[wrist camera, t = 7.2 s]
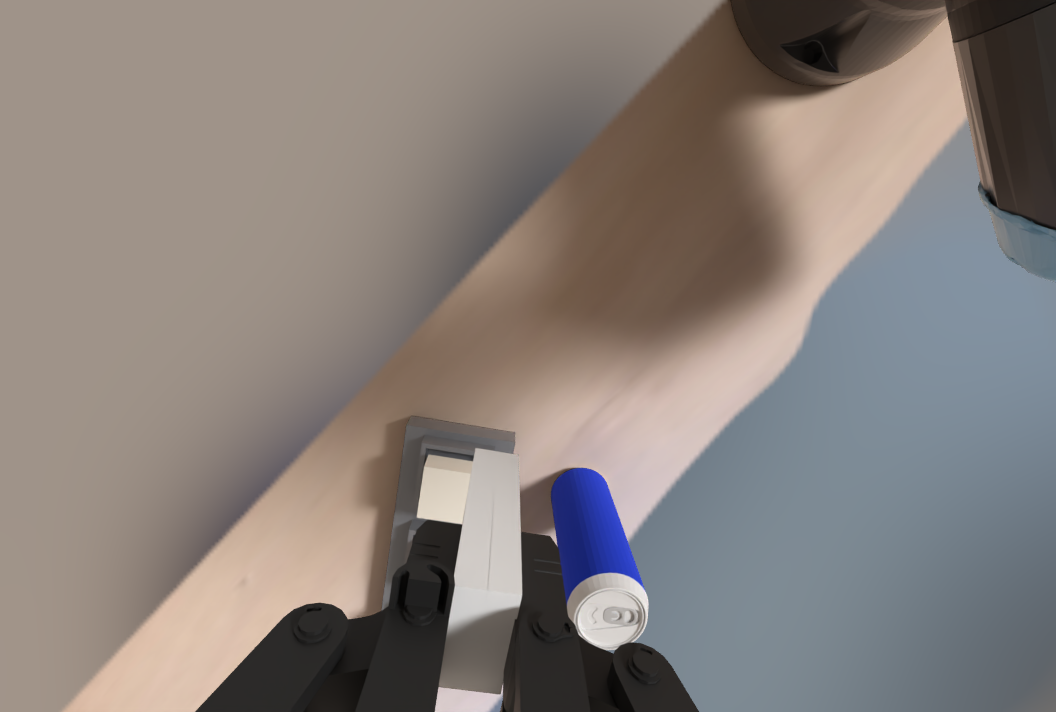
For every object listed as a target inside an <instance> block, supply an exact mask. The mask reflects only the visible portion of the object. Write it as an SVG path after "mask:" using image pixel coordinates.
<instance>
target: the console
mask: <svg viewBox="0 0 1056 712" xmlns="http://www.w3.org/2000/svg"><path fill="white" fill-rule="evenodd" d="M514 446H515V432H508V431H502V430H496V429H490V428H484V427H478V426H471V425H465V424H459V423H453V422H447V421H441V420H434V419H428V418H422V417H416V416H411V417H410V419H409V421H408V423H407V425H406V432H405V439H404V446H403V454H402V461H401V469H400V476H399V484H398V491H397V498H396V506H395V513H394V521H393V528H392V535H391V543H390V550H389V558H388V565H387V573H386V580H385V587H384V595H383V602H382V610H384V609H385V608H386V607H388V606H389V599H390V592H391V585H392V577H393V575H394V574H395V572H396V571H397V569H398V568H399V567H401V566H403V565H404V564H406V562H407V559H408V556H409V553H410V549H411V546H412V543H413V540H414V537H415V533H416V530H417V529H418V528H419V527H420V526H421V525H422V524H423V523H424V522H425V521H426V520H430V519H423V518H417V511H418V505H419V498H420V491H421V484H422V478H423V471H424V466H425V463H426V460H427V457H428V455H435V456H442V457H448V458H455V459H461V460H467V461H473V459H474V453H475V448H479V449H485V450H491V451H498V452H504V453H510V454H513V451H514ZM434 521H437V520H434ZM441 522H444V521H441ZM448 523H451V522H448ZM455 524H457V523H455ZM461 525H462V524H461ZM382 610H381V611H382Z"/></svg>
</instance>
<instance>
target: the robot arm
mask: <svg viewBox="0 0 1056 712" xmlns="http://www.w3.org/2000/svg"><path fill="white" fill-rule="evenodd" d="M731 3H732V8H733V12H734V16H735V19H736V22H737V25H738V27H739V29H740V32H741V34H742V36H743V38H744V39H745V41H746V43H747V44H748V46H749V47H750V49H751V50H752V52H753V53H754V54H755V55H756V56H757V57H758V59H759V60H760V61H761V62H762V63H763V64H765V65H766V66H767V67H768V68H769V69H771V70H772V71H774V72H775V73H777V74H779V75H780V76H782V77H784V78H786V79H789V80H791V81H794V82H797V83H801V84H806V85H814V86H829V85H837V84H842V83H846V82H850V81H853V80H855V79H858V78H860V77H863V76H865V75H868V74H870V73H872V72H875V71H877V70H879V69H882V68H884V67H886V66H888V65H890V64H891V63H893V62H895V61H896V60H898V59H899V58H901V57H902V56H904V55H905V54H907V53H908V52H909V51H911V50H912V49H913V48H914V47H916V46H917V45H918V44H919V43H920V42H921V41H922V40H923V39H924V38H925V37H926V36H927V35H928V34H929V33H931V32H932V31H933V30H934V29H935V28H936V27H937V26H938V25H939V24H940V23H941V22H942V21H943V20H944V19H945V18H946V17H947V16H948V20H949V25H950V29H951V34H952V39H953V46H954V51H955V56H956V61H957V66H958V71H959V76H960V81H961V86H962V91H963V96H964V101H965V106H966V111H967V116H968V121H969V126H970V131H971V136H972V141H973V146H974V151H975V156H976V161H977V166H978V171H979V176H980V183H979V186H978V192H979V196H980V199H981V201H982V202H983V204H984V205H985V206H986V207H987V208H988V209H989V212H990V216H991V219H992V223H993V226H994V230H995V233H996V237H997V241H998V244H999V246H1000V248H1001V250H1002V251H1003V253H1004V254H1005V255H1006V256H1007V258H1008V259H1009V260H1010V261H1012V262H1014V263H1016V264H1017V265H1020V266H1021V267H1022V268H1024V269H1025V270H1027V271H1028V272H1029V273H1031V274H1033V275H1035V276H1038V277H1040V278H1044V279H1046V280H1050V281H1053V282H1056V0H731ZM560 563H561V561H560V554H559V548H558V547H557V545H556V544H555V543H554V541H553V540H552V538H551V537H550V536H545V535H538V534H531V533H525V532H521V521H520V480H519V455H516V454H510V453H504V452H498V451H491V450H485V449H479V448H475V453H474V459H473V465H472V470H471V476H470V482H469V488H468V493H467V499H466V505H465V510H464V516H463V522H462V525H461V524H455V523H448V522H441V521H434V520H426V521H425V522H424V523H423V524H422V525H421V526H420V527H419V528H418V529H417V530H416V533H415V537H414V540H413V543H412V546H411V549H410V553H409V556H408V559H407V562H406V564H404V565H403V566H401V567H399V568H398V569H397V571H396V572H395V574H394V575H393V577H392V585H391V592H390V599H389V606H388V607H386V608H385V609H384V610H382V611H381V612H378V613H376V614H374V615H371V616H367V617H362V618H355V619H348V620H347V617H346V616H345V614H344V613H343V611H342V610H341V609H339V608H337V607H335V606H334V605H331V604H325V603H314V604H306V605H304V606H301V607H299V608H296V609H294V610H293V611H291V612H290V613H289V614H287V615H286V616H285V617H284V618H283V619H282V620H281V621H280V622H279V623H278V624H277V625H276V626H275V627H274V628H273V629H272V630H271V631H270V632H269V634H268V635H267V636H266V637H265V638H264V639H263V640H262V641H261V642H260V643H259V644H258V645H257V646H256V647H255V648H254V650H253V651H252V652H251V653H250V654H249V655H248V656H247V657H246V658H245V659H244V660H243V661H242V662H241V663H240V664H239V666H238V667H237V668H236V669H235V670H234V671H233V672H232V673H231V674H230V675H229V676H228V677H227V678H226V679H225V680H224V682H223V683H222V684H221V685H220V686H219V687H218V688H217V689H216V690H215V691H214V692H213V693H212V694H211V695H210V696H209V698H208V699H207V700H206V701H205V702H204V703H203V704H202V705H201V706H200V707H199V708H198V709H197V710H196V711H195V712H435V705H436V699H437V693H438V687H443V688H451V689H460V690H468V691H476V692H484V693H493V694H501V689H502V685H503V701H502V706H501V711H500V712H699V711H698V709H697V708H696V706H695V704H694V703H693V701H692V699H691V698H690V696H689V694H688V693H687V691H686V690H685V688H684V686H683V684H682V683H681V681H680V679H679V678H678V676H677V674H676V673H675V671H674V669H673V668H672V666H671V665H670V664H669V663H668V661H667V660H666V659H665V657H664V656H663V655H661V654H660V653H659V652H657V651H656V650H655V649H653V648H651V647H649V646H646V645H644V644H641V643H632V642H629V643H626V644H622V645H620V646H619V647H618V648H617V649H616V650H615V652H614V654H613V653H611V652H608V651H606V650H604V649H601V648H599V647H596V646H594V645H593V644H591V643H589V642H587V641H586V640H585V639H583V638H582V637H581V636H580V635H579V634H578V631H577V629H576V626H575V624H574V623H573V622H572V620H571V619H570V618H569V617H568V611H567V604H566V597H565V590H564V583H563V576H562V568H561V565H560Z"/></svg>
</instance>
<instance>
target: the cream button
mask: <svg viewBox="0 0 1056 712" xmlns="http://www.w3.org/2000/svg"><path fill="white" fill-rule="evenodd" d="M472 465H473V461H467V460H461V459H455V458H448V457H442V456H435V455H428V457H427V460H426V463H425V466H424V471H423V478H422V484H421V491H420V498H419V505H418V511H417V518H423V519H430V520H437V521H444V522H451V523H457V524H462V522H463V516H464V510H465V505H466V499H467V493H468V488H469V482H470V476H471V470H472Z"/></svg>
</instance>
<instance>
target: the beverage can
mask: <svg viewBox="0 0 1056 712" xmlns="http://www.w3.org/2000/svg"><path fill="white" fill-rule="evenodd" d="M551 501H552V508H553V516H554V523H555V530H556V537H557V545H558V548H559V554H560V561H561V563H560V565H561V568H562V576H563V583H564V590H565V597H566V604H567V611H568V617H569V618H570V619H571V620H572V622H573V623H574V624H575V626H576V629H577V631H578V634H579V635H580V636H581V637H582V638H583V639H585V640H586V641H587V642H589V643H591V644H593V645H594V646H596V647H599V648H601V649H604V650H614V649H617V648H618V647H619V646H620V645H622V644H626V643H629V642H634V641H635V640H636V639H637V638H638V637H639V636H640V635H641V634H642V632H643V631H644V629H645V626H646V624H647V618H648V597H647V595H646V592H645V589H644V586H643V583H642V580H641V578H640V575H639V572H638V569H637V566H636V564H635V561H634V558H633V556H632V552H631V550H630V547H629V544H628V541H627V539H626V536H625V533H624V530H623V527H622V525H621V522H620V519H619V516H618V513H617V511H616V508H615V505H614V502H613V499H612V497H611V494H610V491H609V488H608V485H607V483H606V481H605V479H604V478H603V477H602V476H601V475H600V474H599V473H597V472H596V471H593V470H591V469H587V468H575V469H571V470H568V471H566V472H564V473H563V474H562V475H560V476H559V477H558V478H557V480H556V481H555V482H554V484H553V487H552V490H551Z"/></svg>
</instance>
